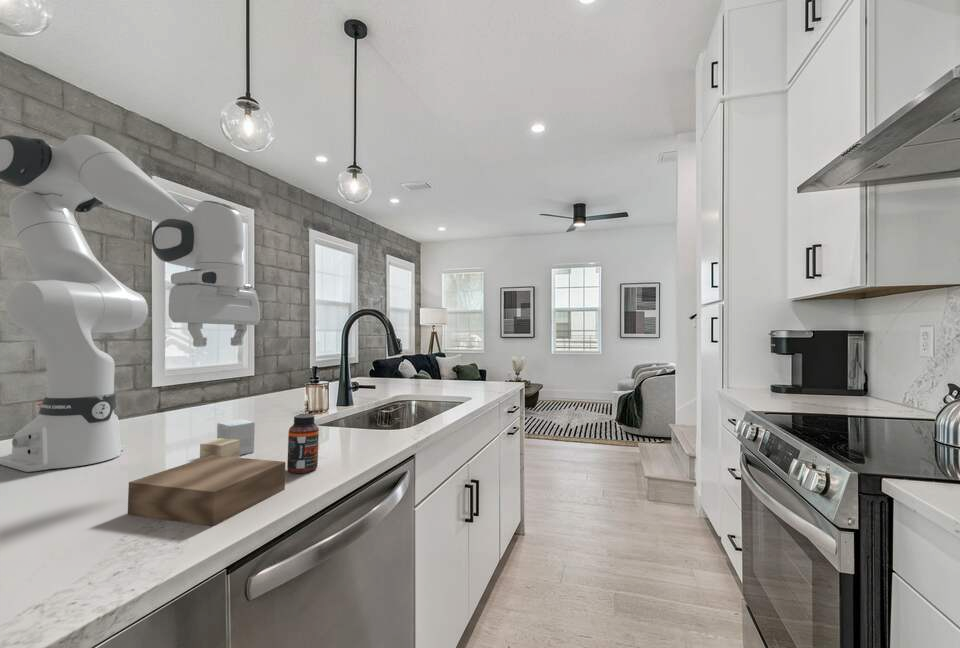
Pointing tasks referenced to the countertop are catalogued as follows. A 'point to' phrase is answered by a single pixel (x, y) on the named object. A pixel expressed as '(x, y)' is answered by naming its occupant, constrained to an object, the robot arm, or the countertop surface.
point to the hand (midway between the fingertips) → (219, 346)
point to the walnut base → (206, 489)
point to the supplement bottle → (303, 444)
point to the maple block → (220, 448)
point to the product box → (238, 433)
